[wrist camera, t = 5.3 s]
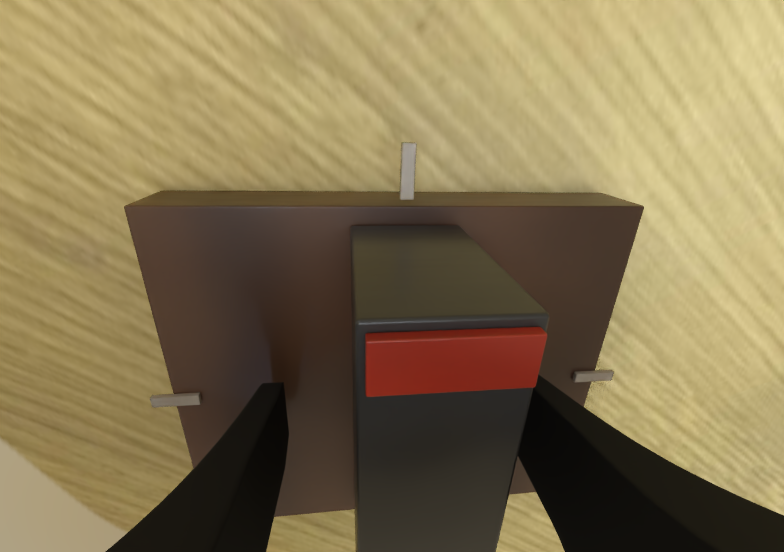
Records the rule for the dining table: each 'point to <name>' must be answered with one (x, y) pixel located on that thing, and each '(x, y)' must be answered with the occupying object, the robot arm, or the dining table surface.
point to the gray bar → (436, 387)
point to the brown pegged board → (348, 302)
